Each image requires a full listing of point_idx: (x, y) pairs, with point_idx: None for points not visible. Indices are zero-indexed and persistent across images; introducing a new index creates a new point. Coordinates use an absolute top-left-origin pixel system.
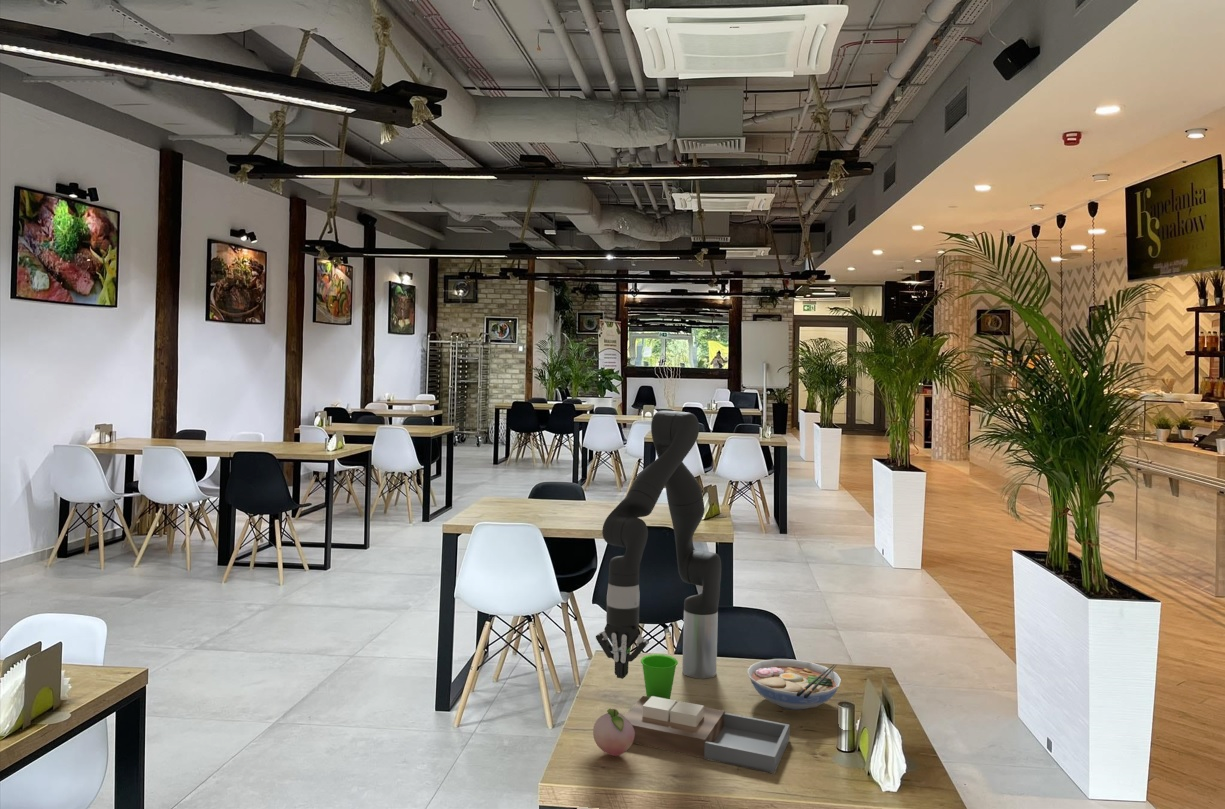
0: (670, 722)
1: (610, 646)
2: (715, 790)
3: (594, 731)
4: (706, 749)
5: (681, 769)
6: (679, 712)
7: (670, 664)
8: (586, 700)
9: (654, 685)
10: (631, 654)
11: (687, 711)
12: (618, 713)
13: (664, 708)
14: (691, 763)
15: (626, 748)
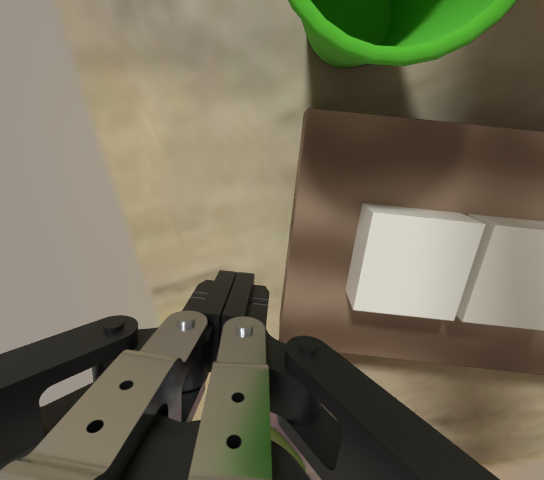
0: None
1: (58, 378)
2: (532, 449)
3: None
4: None
5: (457, 397)
6: (498, 324)
7: None
8: (86, 82)
9: (361, 62)
10: (307, 455)
11: (530, 308)
12: (304, 464)
13: (438, 308)
14: (481, 369)
15: None
